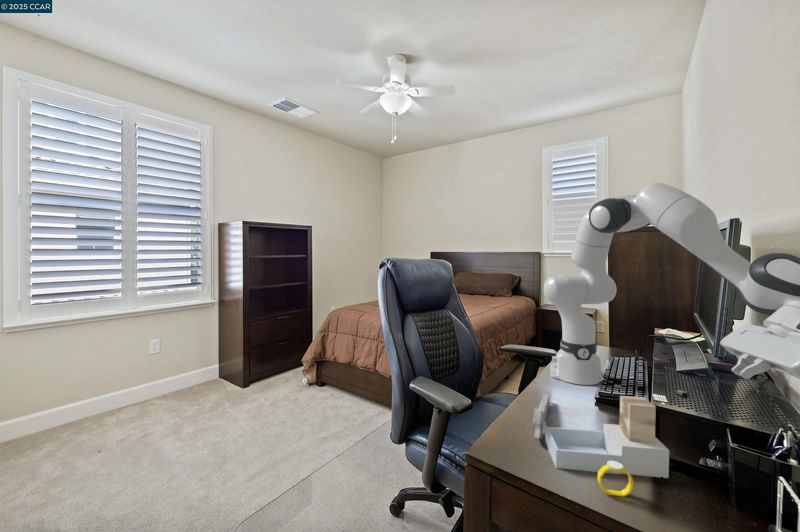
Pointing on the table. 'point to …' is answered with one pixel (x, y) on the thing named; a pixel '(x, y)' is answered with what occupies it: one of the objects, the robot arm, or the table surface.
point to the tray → (578, 449)
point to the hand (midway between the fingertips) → (738, 374)
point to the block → (637, 419)
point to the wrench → (540, 416)
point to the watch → (616, 468)
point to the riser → (637, 453)
